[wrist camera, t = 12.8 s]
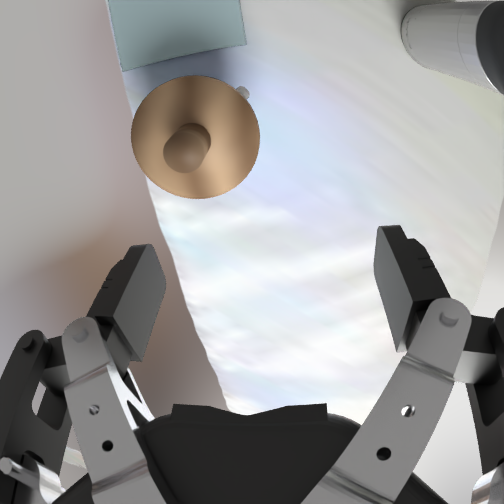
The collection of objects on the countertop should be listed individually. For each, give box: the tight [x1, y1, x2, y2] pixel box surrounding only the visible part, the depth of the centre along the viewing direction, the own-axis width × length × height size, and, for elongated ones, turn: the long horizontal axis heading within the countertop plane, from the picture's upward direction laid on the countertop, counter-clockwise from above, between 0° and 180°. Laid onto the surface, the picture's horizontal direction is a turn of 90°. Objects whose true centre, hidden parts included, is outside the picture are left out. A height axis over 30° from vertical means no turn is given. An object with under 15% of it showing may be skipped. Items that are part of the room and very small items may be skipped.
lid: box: [131, 75, 260, 199], centre depth 31 cm, size 14×14×5 cm
